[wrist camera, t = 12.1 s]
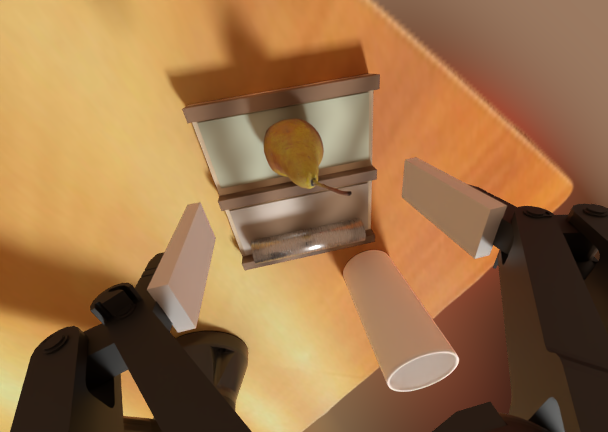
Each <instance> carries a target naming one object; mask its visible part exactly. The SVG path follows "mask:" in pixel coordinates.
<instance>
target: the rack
mask: <svg viewBox="0 0 608 432" xmlns="http://www.w3.org/2000/svg"><path fill="white" fill-rule="evenodd" d="M379 84H380V74H364V75H358V76H352V77H346V78H341V79H335V80H329V81H323V82H318V83H312V84H306V85H300V86H295V87H289V88H283V89H277V90H272V91H266V92H260V93H254V94H249V95H243V96H237V97H231V98H226V99H220V100H214V101H208V102H203V103H197V104H191V105H188V106H186V107H185V108H183V109H182V110H183V112H184V115H185V118H186V120H187V123H192V124H193V126H194V129H195V132H196V134H197V137H198V140H199V142H200V145H201V148H202V150H203V153H204V156H205V158H206V161H207V163H208V166H209V169H210V171H211V174H212V177H213V179H214V182H215V185H216V187H217V190H218V193H219V195H220V196H219V200H218V203H219V205H220V208H221V211H224V210H225V211H226V214H227V217H228V219H229V222H230V225H231V227H232V230H233V233H234V235H235V238H236V240H237V243H238V246H239V248H240V251H241V254H242V256H243V258H242V265H243V268H244V270H249V269H253V268H258V267H262V266H267V265H271V264H276V263H280V262H285V261H289V260H294V259H298V258H303V257H307V256H312V255H316V254H321V253H325V252H330V251H335V250H339V249H344V248H348V247H353V246H357V245H362V244H366V243H371V242H375V234H374V233H373V231H372V230H371V191H372V180H376V179H377V169H375V168H374V167H373V166H372V135H373V90H377V89H379ZM293 118H297V119H302V120H305V121H307V122H308V123H309V124H311V125H312V126H313V127H314V128H315V129H316V130H317V132H318V133H319V135H320V137H321V139H322V142H323V148H324V153H323V158H322V161H321V163H320V165H319V166H318V167H319V174H318V182H319V183H321V184H324V185H326V186H329V187H332V188H335V189H338V190H341V191H351V192H352V194H351V195H350V196H345V195H340V194H337V193H335V192H332V191H330V190H328V189H326V188H323V187H320V186H316V185H315V187H313V188H311V189H307V188H302V187H300V186H298V185H296V184H295V183H293V182H292V181H291V180H290V179H289V177H285V176H281V175H279V174H277V173H275V172H274V171H273V170H272V169H271V168H270V166H269V164H268V162H267V159H266V157H265V153H264V137H265V134H266V131H267V130H268V128H269V127H270V126H272V125H273V124H275V123H277V122H279V121H281V120H285V119H293ZM356 218H360V219H361V220H362V222H363V224H364V228H365V233H366V239H365V240H364V241H360V242H356V243H351V244H346V245H342V246H337V247H333V248H328V249H324V250H319V251H315V252H310V253H306V254H301V255H297V256H292V257H288V258H283V259H278V260H274V261H269V262H265V263H260V264H255V262H254V259H253V255H252V249H251V241H253V240H258V239H262V238H267V237H272V236H276V235H281V234H286V233H290V232H295V231H300V230H305V229H309V228H314V227H319V226H323V225H328V224H333V223H337V222H342V221H347V220H351V219H356Z"/></svg>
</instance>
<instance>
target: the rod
mask: <svg viewBox="0 0 608 432" xmlns="http://www.w3.org/2000/svg"><path fill="white" fill-rule="evenodd" d="M365 239H366V233H365V228H364V224H363V222H362V220H361V219H360V218H356V219H351V220H347V221H342V222H337V223H333V224H328V225H323V226H319V227H314V228H309V229H305V230H300V231H295V232H290V233H286V234H281V235H276V236H272V237H267V238H262V239H258V240H253V241H251V249H252V255H253V259H254V262H255V264H260V263H265V262H269V261H274V260H278V259H283V258H288V257H292V256H297V255H301V254H306V253H310V252H315V251H319V250H324V249H328V248H333V247H337V246H342V245H346V244H351V243H356V242H360V241H364V240H365Z"/></svg>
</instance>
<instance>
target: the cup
mask: <svg viewBox="0 0 608 432" xmlns="http://www.w3.org/2000/svg"><path fill="white" fill-rule="evenodd" d="M343 277H344V280H345V283H346V285H347V287H348V290H349V292H350V295H351V297H352V300H353V302H354V305H355V307H356V309H357V312H358V314H359V317H360V319H361V322H362V324H363V327H364V329H365V331H366V334H367V336H368V339H369V341H370V344H371V346H372V349H373V351H374V353H375V356H376V358H377V361H378V363H379V366H380V368H381V370H382V373H383V375H384V377H385V380H386V382H387V384H388V386H389V388H390V389H392V390H395V391H413V390H417V389H421V388H424V387H427V386H429V385H432V384H434V383H436V382H438V381H440V380H441V379H443V378H445V377H446V376H448V375H449V374H450V373H451V372H452V371H453V370H454V369H455V368H456V367H457V365H458V363H459V358H458V356H457V354H456V352H455V351H454V349H453V348H452V347H451V345H450V344H449V342H448V341H447V339H446V338H445V336H444V335H443V334H442V332H441V331H440V329H439V328H438V326H437V325H436V324H435V322H434V320H433V319H432V318H431V316H430V315H429V313H428V312H427V310H426V309H425V307H424V306H423V305H422V303H421V302H420V300H419V299H418V297H417V296H416V294H415V293H414V292H413V290H412V289H411V287H410V286H409V284H408V283H407V281H406V280H405V279H404V277H403V276H402V274H401V273H400V271H399V270H398V268H397V267H396V266H395V264H394V263H393V261H392V260H391V258H390V257H389V256H388V255H387V254H386V253H385V252H383V251H380V250H368V251H364V252H362V253H359V254H357V255H356V256H354V257H353V258H352V259H350V260H349V262H348V263H347V264H346V266H345V268H344V270H343Z"/></svg>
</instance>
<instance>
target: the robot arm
mask: <svg viewBox="0 0 608 432" xmlns="http://www.w3.org/2000/svg"><path fill="white" fill-rule="evenodd" d="M402 198H403V199H405V200H406V201H407V202H408V203H409V204H411V205H412V206H413V207H414V208H415V209H416V210H418V211H419V212H420V213H421V214H422V215H424V216H425V217H426V218H427V219H428V220H429V221H431V222H432V223H433V224H434V225H435V226H437V227H438V228H439V229H440V230H441V231H442V232H444V233H445V234H446V235H447V236H448V237H450V238H451V239H452V240H453V241H454V242H455V243H457V244H458V245H459V246H460V247H461V248H463V249H464V250H465V251H466V252H467V253H469V254H470V255H471V256H472V257H473V258H474V259H476V258H480V257H484V256H488V255H490V252H491V249H492V246H493V245H494V246H496V247H497V248H498V249H500V250H499V253H498V255H497V258H496V261H495V263H494V266H493V268H496V267H497V265H498V266H499V275H500V285H501V294H502V303H503V314H504V323H505V333H506V342H507V352H508V361H509V371H510V380H511V390H512V401H511V406H510V411H509V414H504V413H498V412H497V410H496V409H495V408H494V406H493V405H492V403H491V402H487V403H484V404H481V405H477V406H474V407H471V408H467V409H464V410H461V411H458V412H456V413H454V414H453V415H452V416H451V417H449V418H448V419H447V420H446V421H445V422H443V423H442V424H441V425H440V426H439V427H437V428H436V429H435V430H434V431H432V432H608V208H605V207H603V206H600V205H595V204H578V205H575V206H573V208H572V209H571V211H570V213H569V215H554V214H553V213H551V212H550V211H548V210H545V209H542V208H539V207H533V206H522V207H518V208H517V207H516V206H514V205H512V204H510V203H508V202H506V201H504V200H502V199H500V198H498V197H496V196H494V195H492V194H490V193H487V192H486V191H485V190H483V189H481V188H479V187H475V186H472V185H468V184H465V183H464V182H462V181H460V180H458V179H456V178H454V177H452V176H450V175H448V174H447V173H445V172H443V171H441V170H439V169H437V168H435V167H433V166H431V165H430V164H428V163H426V162H424V161H422V160H420V159H418V158H411V159H406V160H405V165H404V177H403V188H402ZM215 239H216V238H215V235H214V233H213V231H212V228H211V226H210V224H209V221H208V219H207V217H206V214H205V212H204V210H203V207H202V205H201V203H200V202H199V203H195V204H190V205H187V207H186V209H185V211H184V213H183V215H182V217H181V219H180V222H179V224H178V226H177V228H176V230H175V232H174V234H173V236H172V238H171V240H170V242H169V244H168V246H167V248H166V251H165V252H164V253H159V254H157V255H155V256H154V257H153V258H152V259H151V260H150V261H149V263H148V265H147V267H146V268H145V271H144V272H143V274H142V276H141V278H140V280H139V281H138V283H137V285H136V287H135V288H134V287H133V286H132V285H131V284H129V283H121V284H118V285H114V286H112V287H110V288H108V289H107V290H105V291H104V292H102V293H101V294H100V295H99V296H98V297H97V298H96V299H95V300H94V301H93V303H92V304H91V306H90V308H91V312H92V313H93V314H94V315H95V316H96V317H97V318H98V319H99V320H100V321H101V322H102V324H100V325H98V326H95V327H93V328H91V329H89V330H87V331H85V332H82V331H81V330H80V329H79V328H78V327H75V326H71V327H66V328H63V329H61V330H58V331H57V332H55V333H54V334H52V335H50V336H49V337H47V338H46V339H45V340H44V341H43V342H41V343H40V345H39V346H38V347H37V348H36V349H35V350H34V352H33V354H32V356H31V359H30V362H29V366H28V369H27V373H26V376H25V380H24V384H23V387H22V391H21V394H20V398H19V402H18V405H17V409H16V412H15V416H14V420H13V423H12V427H11V430H10V432H251V430H250V429H249V428H248V427H247V425H246V424H245V423H244V422H243V421H242V419H241V418H240V417H239V416H238V414H237V413H236V412H235V405H236V399H237V396H238V393H239V390H240V387H241V384H242V381H243V378H244V375H245V372H246V369H247V365H248V348H247V346H246V345H245V343H244V342H243V341H242V340H240V339H239V338H237V337H235V336H233V335H230V334H227V333H222V332H213V331H204V332H195V333H190V334H186V335H183V336H180V337H178V338H176V339H175V338H174V337H173V335H172V334H171V333H170V330H171V327H172V325H173V326H174V328H175V329H176V331H177V332H178V333H179V332H183V331H187V330H191V329H195V328H196V326H197V321H198V317H199V312H200V308H201V303H202V299H203V294H204V289H205V285H206V280H207V276H208V271H209V267H210V262H211V257H212V253H213V248H214V244H215ZM598 250H599V253H600V259H599V261H598V260H597V259H596V258H595V257H594V255H595V254H596V252H597V251H598ZM128 369H129V371H130V373H131V375H132V377H133V379H134V381H135V382H136V384H137V386H138V388H139V390H140V392H141V394H142V395H143V397H144V399H145V401H146V403H147V405H148V407H149V408H150V410H151V412H152V414H153V416H154V418H153V419H149V418H138V417H128V416H123V407H122V391H121V373H122V372H124V371H126V370H128Z"/></svg>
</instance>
